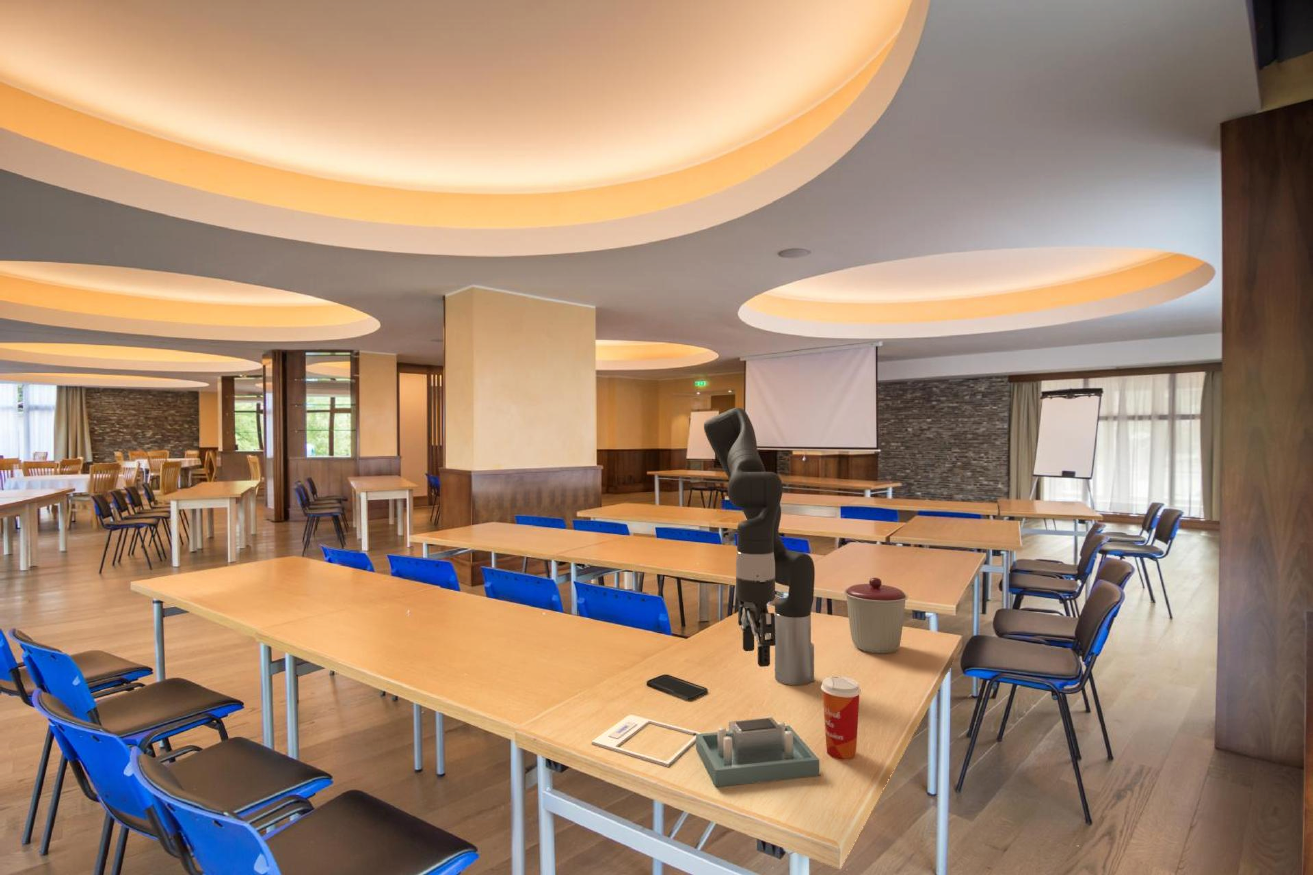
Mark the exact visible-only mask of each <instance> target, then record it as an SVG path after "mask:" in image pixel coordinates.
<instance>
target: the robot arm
mask: <svg viewBox="0 0 1313 875" xmlns="http://www.w3.org/2000/svg"><path fill="white" fill-rule="evenodd" d="M703 430H704V433H705V436H706V438H707V441H708V443H709V445H710V447H711V449H712V451H713V452H714V454H715V456H716V458H717V460H718V461H719V463H720V465H721V467H722V469H723V470H724V472H725V474H726V476H727V478H728V480H729V481H728V484H727V497H728V500H729V502H730V504H732V505H733V506H734V507H735V508H739V509H741V510H742V512H743V515H744V517H745V518H746V519H745V520H742V521H739V523H738V525H737V528H736V541H737V542H736V545H737V546H736V550H737V551H736V561H735V594H736V596H735V597H736V598H737V599H738V600H737V601H738V602H737V603H738V606H737V607H738V610H737V612H738V613H737V614H738V616H737V617H738V619H737V621H738V622H737V625H738V626H739V627H740V630H741V632H742V650H743V651H745V652H753V651H754V650H755V639H756V642H757V643H756V644H757V665H758V666H759V667H760V668H762V667H769V666H770V665H771V647H774V679H775V680H776V681H777V682H779V683H782V684H786V685H789V686H790V685H791V686H803V685H808V684H809V683H812V682H813V683H814V682H815V645H814V643H812V618H811V617H812V605H813V604H814V598H815V596H814V595H815V579H816V578H815V576H816V572H815V563H814V560H813V558H812V557H811V555H810V554H808V553H805V552H802V551H801V552H800V551H795V550H789V549H788V548H787V547H786V546H785V544H784V542H783V540H782V538H781V535H780V531H779V528H780V523H781V518H782V507H781V501H782V497H783V494H784V493H783V492H784V485H783V482H782V479H781V478H780V476H779V475H778V474H777V473H776V472H773V471H766V469H765V466H764V465H765V464H764V463H763V461H762V459H761V456H760V454H759V450H758V444H757V437H756V432H755V429H754V425H753V423H752V421H751V419H750V417H749V415H748V414H747V412H746V411H745V410H744V408H741V407H733V408H731V409H728V410H726V411H724V412H722V413H719V414H718V415H716V416H713V417H711V418H709V419H707V420H705V422H704V423H703ZM776 584H778V585H782V586H785V587H788V595H787V597H783V598H779V599H777V600H775V599H776ZM773 601H775V602H774V612H769V608H768V604H769V603H770V602H773ZM755 637H756V638H755Z"/></svg>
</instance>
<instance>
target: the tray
mask: <svg viewBox="0 0 1313 875" xmlns="http://www.w3.org/2000/svg"><path fill="white" fill-rule="evenodd" d="M776 723H777V724H778V725H779V726H780V727H781V728H782V760H779V761H771V762H762V763H752V764H742V765H737V764H736V762H735V761H734V759H733V758H732V738H731V737H729V730H728V731H727V729H726V727H723V726H720V727H717V732H716V731H715V732H705V733H702V734H695V735H696V741H695V750H696V752H697V754H698V756H699V758H700V759H701V761H702V763H703V766H704V768H705V769H706V772H707V774H708V775H709V777H710V779H711V781H712V784H713V785H714V787H715V788H720V787H728V786H737V785H745V784H746V785H747V784H755V783H765V782H773V781H782V780H793V779H801V778H810V777H818V776H820V758H819V757H818V756H817V755H816V754H815V753H814V752H813V750H812V749H811V748H810V747H809V746H808V744H806V743H805V741H803V739H802V738H801V737H800V736H799V734H797V732H795V729H793V728H792V727H791V726H790V725H786V723H785V722H784V721H783V722H782V721H776Z"/></svg>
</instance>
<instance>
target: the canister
mask: <svg viewBox="0 0 1313 875" xmlns="http://www.w3.org/2000/svg"><path fill="white" fill-rule="evenodd" d="M843 594H844V595H845V596H846V598H845V599H846V604H847V605H846V606H847V614H848V623H849V624H848V625H849V630H850V636H851V640H852V643H853V645H854V646H855V647H856V648H858V649H859V650H861V651H864V652H867V653H873V654H890V653H893V652H896V651H897V650H898V648H899V647H900V645H901V641H902V635H903V627H904V618H905V610H906V608H905V607H906V601H907V600H908V598H909V595H908V594H907V593H905V592H904V591H903V590H902V589H901V588H897V587H894V586H890V585H886V584H883V582H882V579H880V578H879V577H871V578H870V579H869V581H868V583H859V584H858V583H857V584H854V585H851V586H849V587H848V588H846V589H844V590H843Z"/></svg>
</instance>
